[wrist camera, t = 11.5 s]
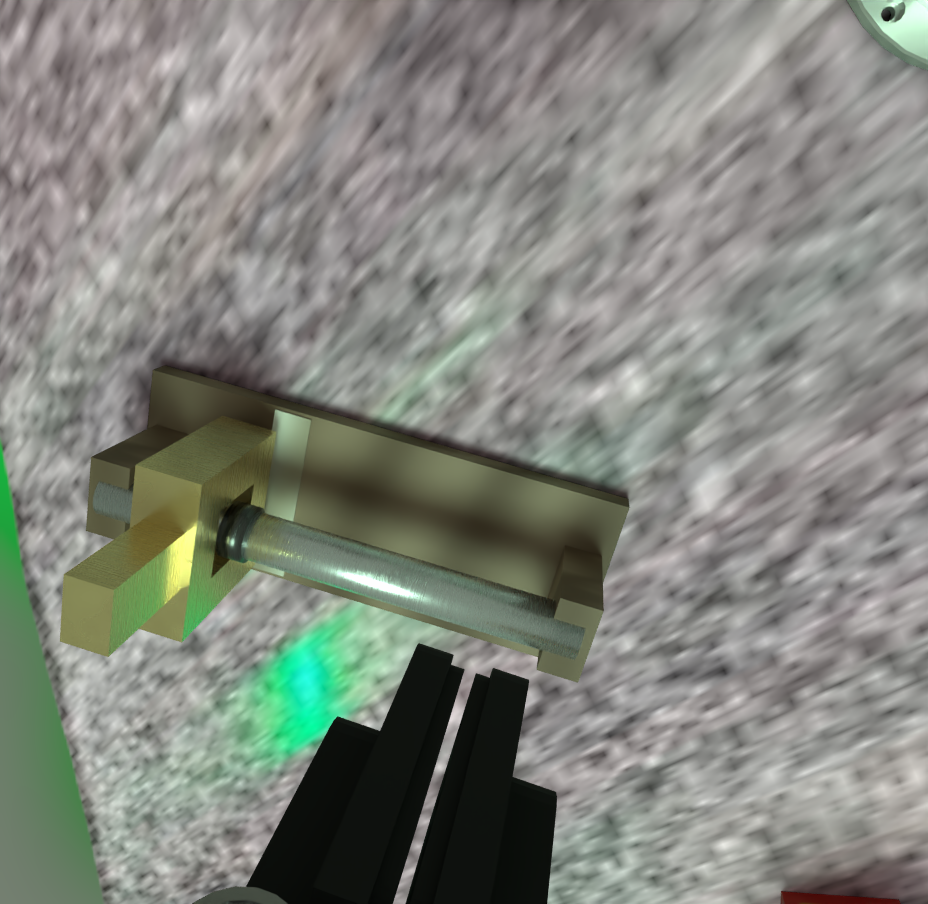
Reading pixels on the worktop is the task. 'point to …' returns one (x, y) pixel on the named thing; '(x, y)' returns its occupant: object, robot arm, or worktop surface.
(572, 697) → the worktop surface
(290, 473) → the pipe stand
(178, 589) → the collar
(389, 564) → the pipe
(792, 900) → the baking soda box
